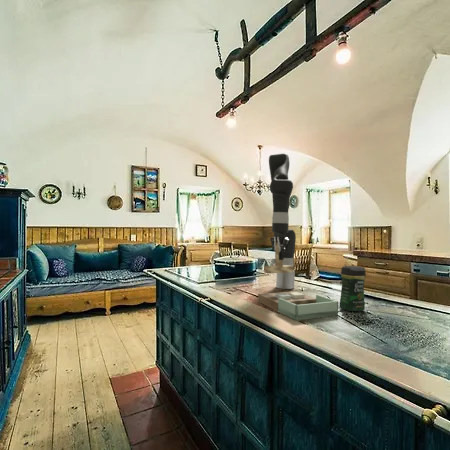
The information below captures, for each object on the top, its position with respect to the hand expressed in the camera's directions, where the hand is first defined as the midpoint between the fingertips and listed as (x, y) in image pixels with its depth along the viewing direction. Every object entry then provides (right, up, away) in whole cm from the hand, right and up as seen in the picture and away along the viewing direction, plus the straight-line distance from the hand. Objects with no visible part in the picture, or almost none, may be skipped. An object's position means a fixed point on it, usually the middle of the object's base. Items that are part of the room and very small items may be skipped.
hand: (279, 259), depth 137 cm
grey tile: (0, -16, -9) cm, 18 cm away
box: (+8, -19, -19) cm, 28 cm away
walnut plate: (+2, -19, -6) cm, 20 cm away
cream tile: (+6, -16, -7) cm, 18 cm away
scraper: (0, -6, 0) cm, 6 cm away
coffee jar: (+29, -20, -12) cm, 37 cm away
